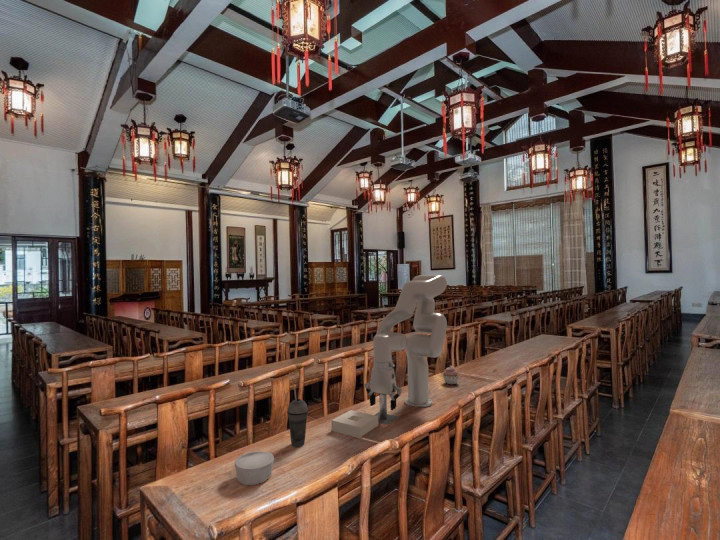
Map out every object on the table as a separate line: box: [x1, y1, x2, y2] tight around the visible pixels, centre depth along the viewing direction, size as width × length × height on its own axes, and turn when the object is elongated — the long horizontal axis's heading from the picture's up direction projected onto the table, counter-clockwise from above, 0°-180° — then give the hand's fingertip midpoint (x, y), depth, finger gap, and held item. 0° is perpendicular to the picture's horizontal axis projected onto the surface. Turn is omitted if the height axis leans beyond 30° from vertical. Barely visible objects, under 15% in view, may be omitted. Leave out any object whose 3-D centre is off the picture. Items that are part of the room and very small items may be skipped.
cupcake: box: [441, 365, 461, 386], centre depth 206 cm, size 9×9×10 cm
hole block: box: [331, 409, 379, 439], centre depth 145 cm, size 13×13×4 cm
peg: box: [378, 393, 388, 419], centre depth 154 cm, size 3×3×12 cm
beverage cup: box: [287, 386, 309, 448], centre depth 132 cm, size 7×7×20 cm
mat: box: [374, 411, 400, 425], centre depth 154 cm, size 10×10×1 cm
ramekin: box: [234, 450, 275, 486], centre depth 110 cm, size 11×11×5 cm
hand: (382, 407), depth 154 cm, fingers open, 9 cm apart
